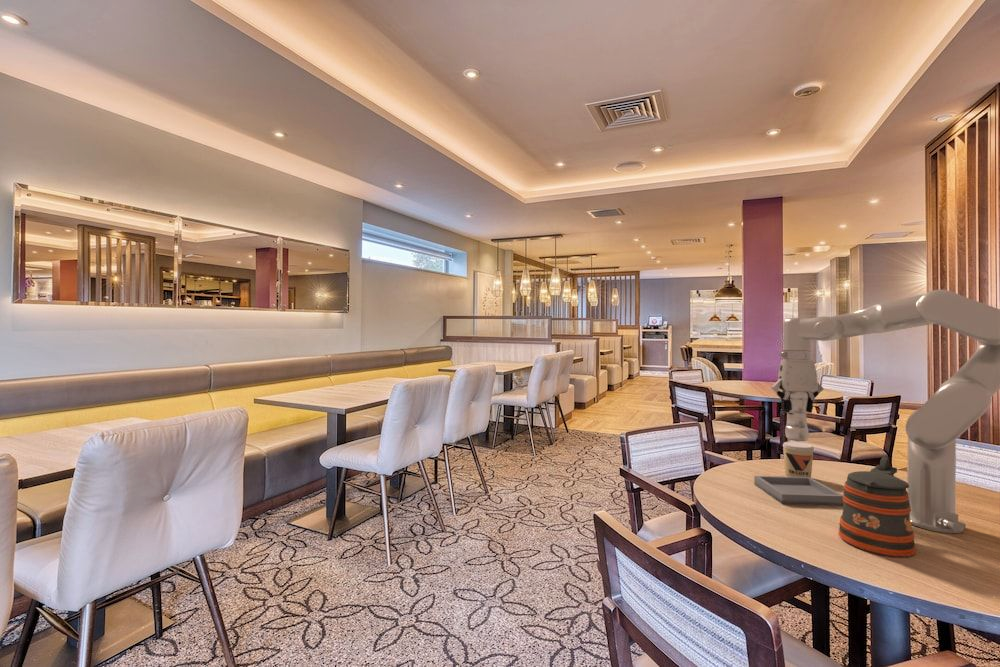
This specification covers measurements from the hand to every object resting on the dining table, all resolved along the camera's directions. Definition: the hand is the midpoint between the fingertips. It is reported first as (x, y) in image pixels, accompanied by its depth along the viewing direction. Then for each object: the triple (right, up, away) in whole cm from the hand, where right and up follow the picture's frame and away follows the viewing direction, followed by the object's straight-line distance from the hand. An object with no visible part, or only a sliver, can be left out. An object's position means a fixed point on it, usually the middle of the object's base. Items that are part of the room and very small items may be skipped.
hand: (796, 411), depth 145 cm
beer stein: (-1, -27, -32) cm, 42 cm away
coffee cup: (+12, -27, +17) cm, 34 cm away
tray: (0, -27, 0) cm, 27 cm away
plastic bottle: (0, -10, 0) cm, 10 cm away
